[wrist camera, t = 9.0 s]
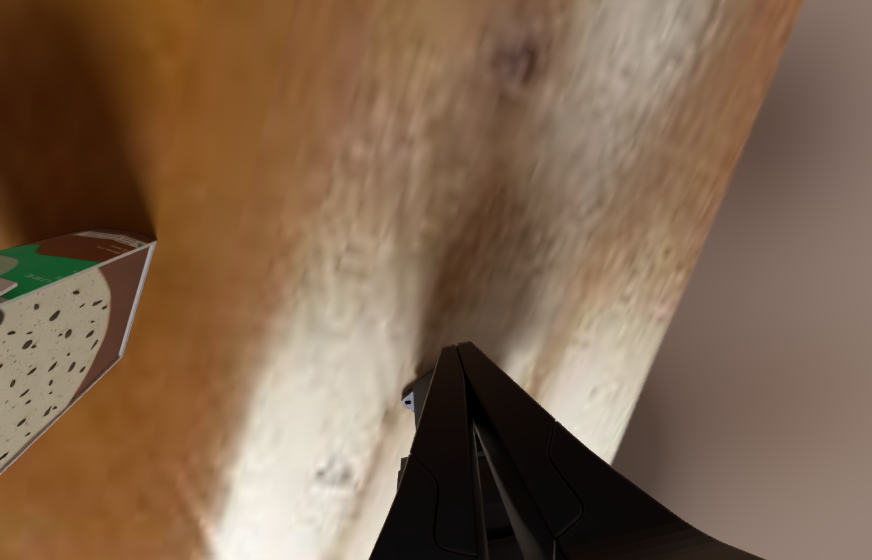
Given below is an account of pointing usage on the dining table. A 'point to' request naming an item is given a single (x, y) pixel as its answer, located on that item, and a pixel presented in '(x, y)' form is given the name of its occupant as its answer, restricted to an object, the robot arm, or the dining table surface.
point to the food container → (63, 324)
